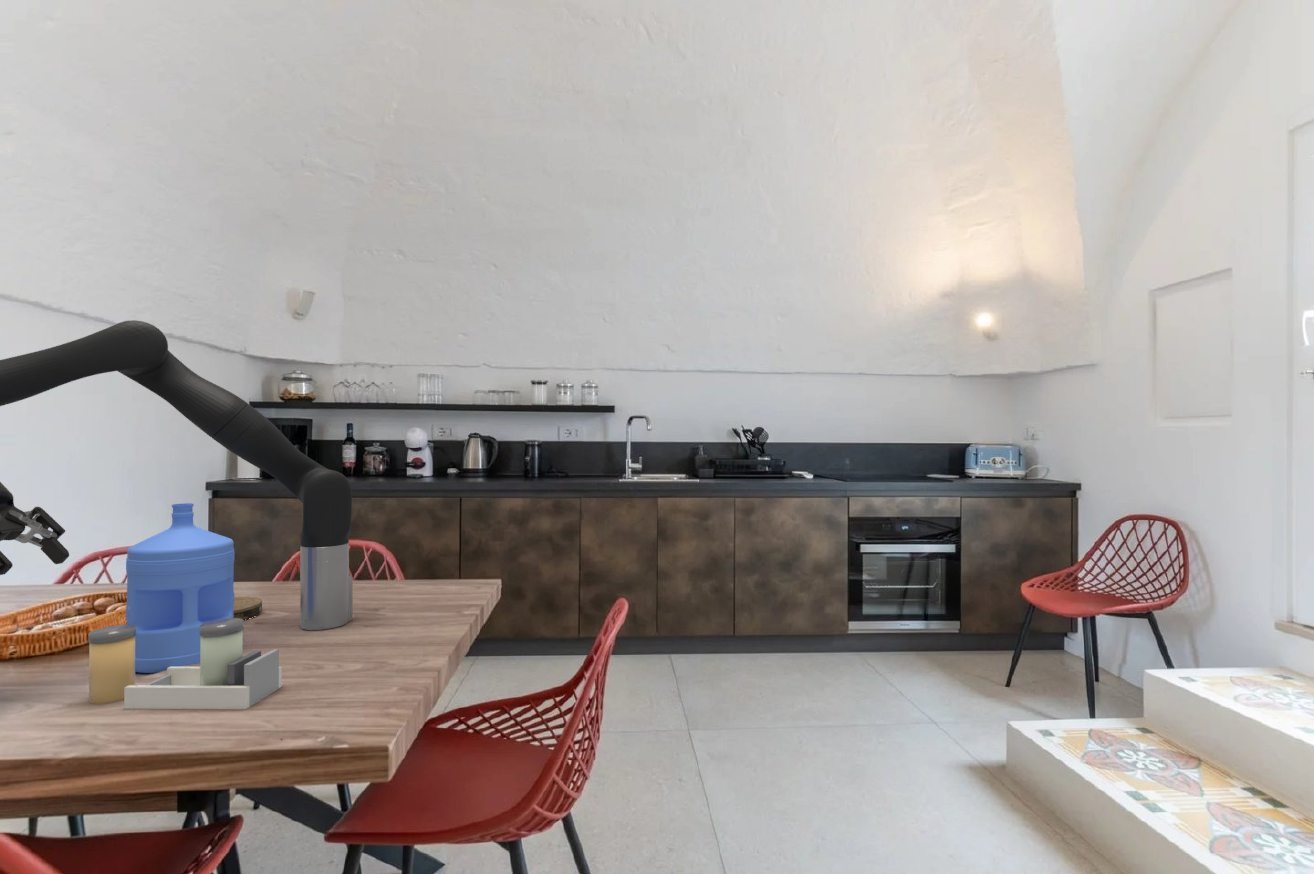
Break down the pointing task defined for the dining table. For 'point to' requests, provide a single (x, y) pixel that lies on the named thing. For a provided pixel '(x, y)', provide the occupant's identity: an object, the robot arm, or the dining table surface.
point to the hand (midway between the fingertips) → (36, 565)
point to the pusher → (239, 669)
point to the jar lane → (207, 688)
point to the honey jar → (111, 662)
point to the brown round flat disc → (246, 607)
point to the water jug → (177, 591)
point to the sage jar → (219, 649)
